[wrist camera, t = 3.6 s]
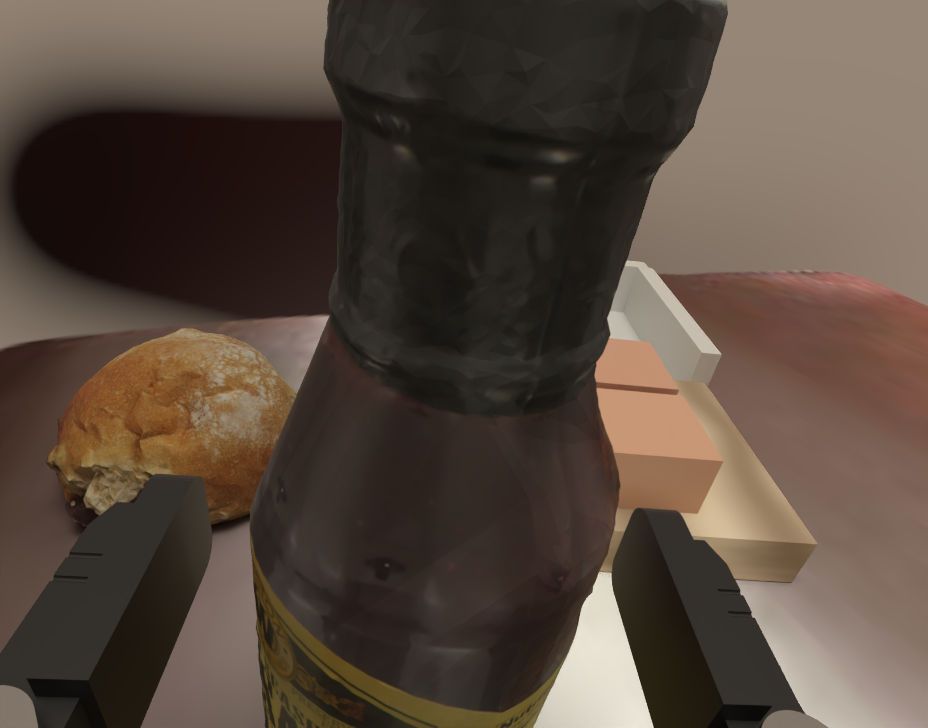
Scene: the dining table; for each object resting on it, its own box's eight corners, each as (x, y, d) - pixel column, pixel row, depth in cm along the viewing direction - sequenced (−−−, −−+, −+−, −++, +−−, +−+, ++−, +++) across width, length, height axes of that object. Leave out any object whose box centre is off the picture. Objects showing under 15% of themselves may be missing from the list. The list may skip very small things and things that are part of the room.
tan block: (662, 445, 28) (683, 395, 26) (697, 513, 24) (723, 461, 23) (574, 437, 27) (589, 387, 26) (595, 506, 24) (614, 452, 22)
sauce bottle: (246, 738, 17) (122, -100, 7) (426, 644, 20) (533, -18, 10) (328, 1016, 13) (342, -185, 2) (541, 839, 16) (957, 16, 5)
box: (631, 313, 47) (647, 262, 44) (694, 416, 35) (721, 354, 33) (456, 295, 45) (463, 241, 43) (461, 395, 34) (471, 330, 31)
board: (690, 415, 35) (704, 382, 34) (791, 582, 25) (817, 544, 24) (466, 396, 34) (472, 360, 32) (476, 564, 23) (485, 522, 22)
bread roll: (317, 540, 28) (376, 396, 27) (93, 600, 19) (162, 392, 18) (211, 441, 33) (256, 315, 32) (-5, 453, 24) (44, 281, 23)
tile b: (633, 387, 32) (649, 342, 31) (659, 438, 28) (679, 389, 27) (556, 380, 32) (569, 334, 30) (572, 431, 28) (587, 381, 26)
